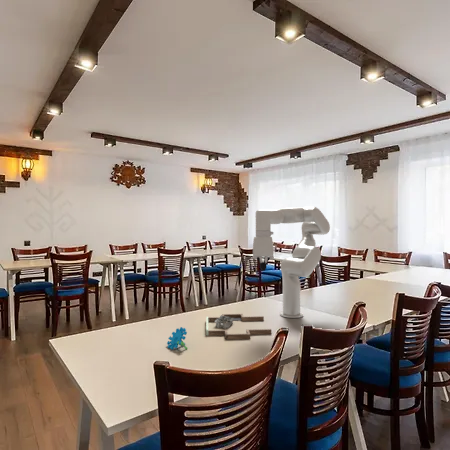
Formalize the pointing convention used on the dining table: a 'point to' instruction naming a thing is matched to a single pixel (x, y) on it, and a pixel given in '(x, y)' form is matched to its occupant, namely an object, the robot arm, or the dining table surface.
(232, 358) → the dining table surface
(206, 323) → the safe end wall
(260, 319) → the trap box
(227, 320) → the grey rock
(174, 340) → the blue flower
